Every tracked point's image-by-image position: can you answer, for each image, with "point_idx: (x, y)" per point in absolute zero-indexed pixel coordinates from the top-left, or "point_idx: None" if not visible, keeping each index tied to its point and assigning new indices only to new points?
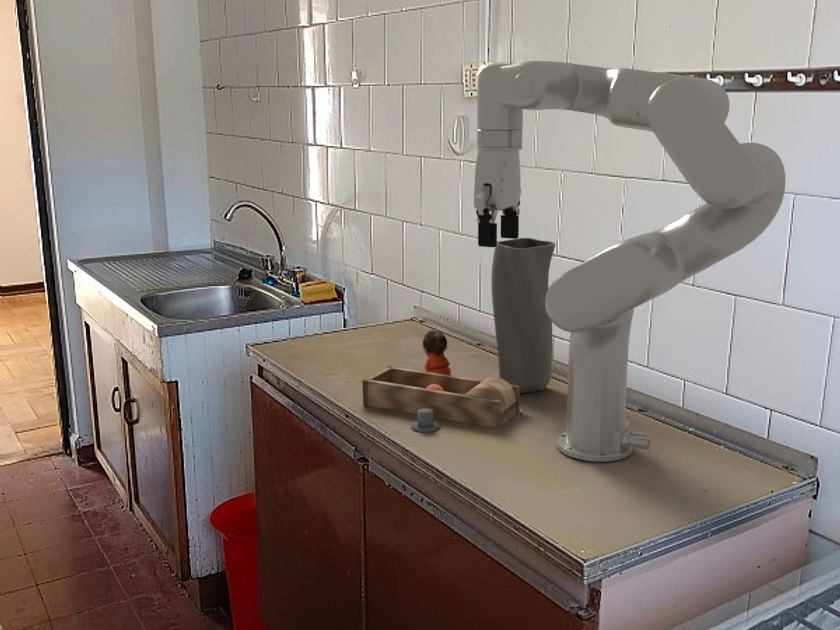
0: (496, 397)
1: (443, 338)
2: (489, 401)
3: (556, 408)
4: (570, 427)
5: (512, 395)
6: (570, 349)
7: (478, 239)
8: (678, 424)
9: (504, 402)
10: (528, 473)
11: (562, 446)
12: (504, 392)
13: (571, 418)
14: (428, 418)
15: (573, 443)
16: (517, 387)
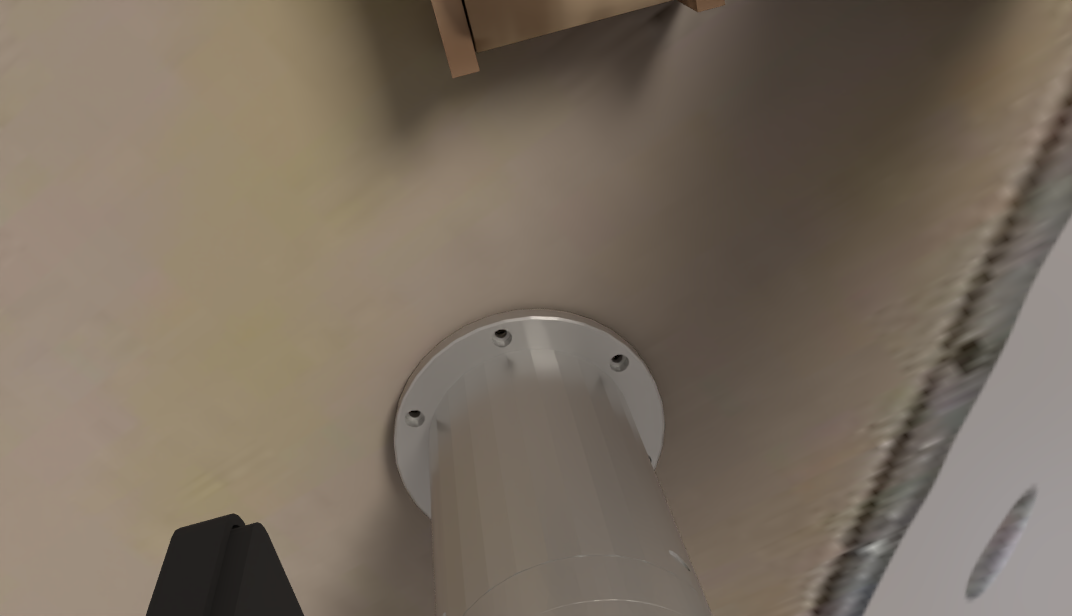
0: (493, 30)
1: None
2: (438, 25)
3: (813, 97)
4: (441, 441)
5: (647, 5)
6: None
7: (160, 598)
8: (895, 505)
9: (543, 33)
10: (183, 394)
11: (412, 391)
12: (591, 6)
13: (440, 467)
14: None
15: (432, 429)
16: (696, 10)
